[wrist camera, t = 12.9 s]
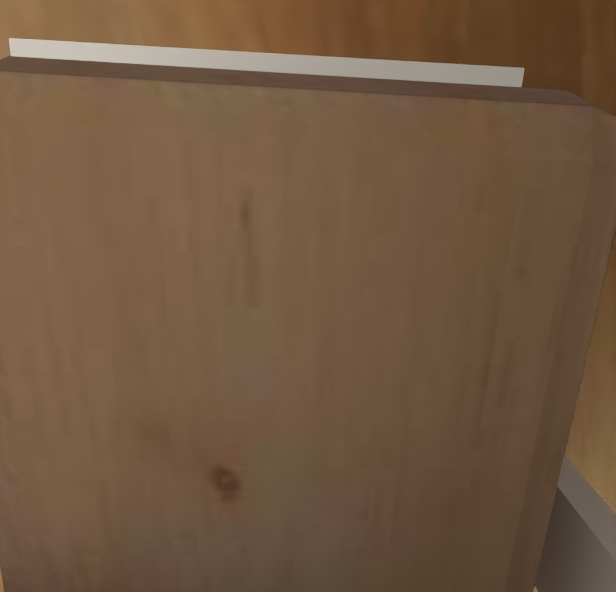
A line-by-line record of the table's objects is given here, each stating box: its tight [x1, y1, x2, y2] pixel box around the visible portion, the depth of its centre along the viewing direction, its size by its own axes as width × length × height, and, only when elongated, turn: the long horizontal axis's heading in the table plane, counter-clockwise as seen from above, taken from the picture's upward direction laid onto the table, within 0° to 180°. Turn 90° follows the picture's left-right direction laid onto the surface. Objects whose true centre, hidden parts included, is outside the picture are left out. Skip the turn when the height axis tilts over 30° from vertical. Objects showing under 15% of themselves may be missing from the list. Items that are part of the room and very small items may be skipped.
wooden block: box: [0, 56, 616, 592], centre depth 14 cm, size 10×10×20 cm
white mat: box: [9, 38, 525, 87], centre depth 18 cm, size 16×22×1 cm
